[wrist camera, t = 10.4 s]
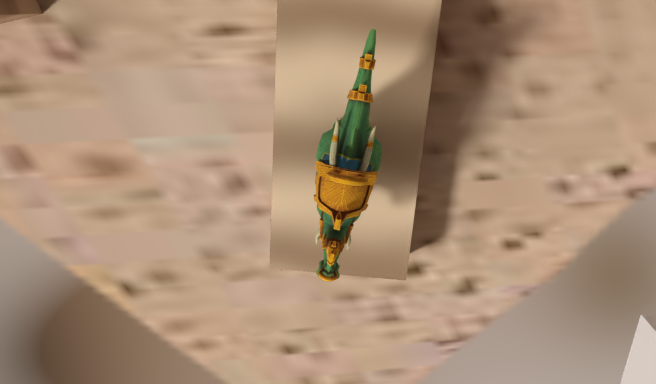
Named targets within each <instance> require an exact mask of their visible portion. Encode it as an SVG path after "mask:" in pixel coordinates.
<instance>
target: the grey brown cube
mask: <svg viewBox="0 0 656 384" xmlns="http://www.w3.org/2000/svg"><path fill="white" fill-rule="evenodd" d="M39 14H42V12H41V9H40V6H39V3H38V1H37V0H0V24H1V23H5V22H10V21H14V20H18V19H22V18H27V17H31V16H35V15H39Z"/></svg>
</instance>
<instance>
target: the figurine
mask: <svg viewBox="0 0 656 384" xmlns="http://www.w3.org/2000/svg"><path fill="white" fill-rule="evenodd" d="M375 45H376V30H375V29H371V30H370V32H369V35H368V38H367V41H366V44H365V47H364V51H363V55H362V57H360V60H359V71H358V74H357V78H356V80H355V83H354V86H353V88H352V90H350V91H349V94H348V96H347V98H348V99H349V100H348V103H347V107H346V111H345V114H344V116H343V118H342V120H341V119H340V120H338V118H337V119H336V122H335V123H334V124H333V128H332V129H331V130H329V131H327V132H325V133H323V134H322V137H321V139H320V142H319V145H318V149H317V154H316V159H317V161H316V170H317V172H316V178H315V184H316V195H314V201H315V202H316V203H317V210H318V213H319V215H320V217H321V218H320V219H319V223H320V228H319V229H318V231H317V233H316V237H315V240H316V244H317V242H318V240H319V238H320V239H321V241H322V249H323V253H324V260H322V261H320V262H319V268H318V270H317V271H316V274H317V275H318V276H319V277H320V278H321V279H323V280H325V281H334V280H336V279H337V278H339V276H340V275H339V271H338V270H339V267H340V265H339V264H338V263H337V260H338V258H339V255H340V253H341V252H342V251H343V249H344V246H345V244H346V243H347V250H348V248H349V246H350V243H351V234H350V233H351V230H352V228H353V226H354V225H353V223H354V222H355V221H356V220H357V219H358V218H359V217H360V215H361V212H362V211H364V210H366V209H367V207H368V204H367V202H368V200H369V197H370V194H371V192H372V189H373V185H374V183H375V180H376V179H377V175H378V172H377V171H378V170H379V168H380V163H381V157H382V144H381V143H380V142H379V141H378V140H377V138H376V137H375V136H374V135H375V129H376V125H375V126H374V128H373V129H372V127H371V126H370V125H369V114H370V103H373V94H372V93H371V78H372V70H374V67H375V63H376V60H375V59H374V55H375Z"/></svg>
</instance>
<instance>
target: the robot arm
mask: <svg viewBox="0 0 656 384" xmlns="http://www.w3.org/2000/svg"><path fill="white" fill-rule="evenodd" d="M621 384H656V316H654V315H641V316H640V320H639V323H638V326H637V330H636V333H635V336H634V340H633V343H632V347H631V350H630V353H629V356H628V360H627V363H626V367H625V370H624V373H623V377H622V380H621Z"/></svg>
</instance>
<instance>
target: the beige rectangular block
mask: <svg viewBox="0 0 656 384" xmlns="http://www.w3.org/2000/svg"><path fill="white" fill-rule="evenodd" d="M441 4H442V0H278V7H277V40H276V74H275V107H274V141H273V174H272V208H271V241H270V268H273V269H284V270H296V271H307V272H316V271H317V270H318V268H319V262H320V261H322V260H324V253H323V249H322V241H321V239H320V238H319V240H318V242H317V244H316V240H315V237H316V233H317V231H318V229H319V228H320V223H319V219H320V218H321V217H320V215H319V213H318V210H317V203H316V202H315V201H314V195H316V184H315V178H316V172H317V170H316V161H317V159H316V154H317V149H318V145H319V142H320V139H321V137H322V134H323V133H325V132H327V131H329V130H331V129H332V128H333V124H334V123H335V122H336V119H337V118H338V120H340V119H341V120H342V118H343V116H344V114H345V111H346V107H347V103H348V100H349V99H348V98H347V96H348V94H349V91H350V90H352V88H353V86H354V83H355V80H356V78H357V74H358V71H359V60H360V57H362V55H363V51H364V47H365V44H366V41H367V38H368V35H369V32H370V30H371V29H375V30H376V45H375V55H374V59H375V60H376V63H375V67H374V70H372V78H371V93H372V94H373V103H370V114H369V125H370V126H371V127H372V129H373V128H374V126H375V125H376V129H375V135H374V136H375V137H376V138H377V140H378V141H379V142H380V143H381V144H382V157H381V163H380V168H379V170H378V171H377V172H378V175H377V179H376V180H375V183H374V185H373V189H372V192H371V194H370V197H369V200H368V202H367V204H368V207H367V209H366V210H364V211H362V212H361V215H360V217H359V218H358V219H357V220H356V221H355V222H354V223H353V225H354V226H353V228H352V230H351V233H350V234H351V243H350V246H349V248H348V250H347V243H346V244H345V246H344V249H343V251H342V252H341V253H340V255H339V258H338V260H337V263H338V264H339V265H340V267H339V270H338V271H339V274H341V275H352V276H363V277H374V278H385V279H397V280H406V276H407V269H408V261H409V253H410V245H411V237H412V230H413V222H414V214H415V206H416V198H417V191H418V183H419V175H420V167H421V160H422V152H423V144H424V136H425V128H426V121H427V113H428V105H429V97H430V89H431V82H432V74H433V66H434V58H435V50H436V43H437V35H438V27H439V19H440V11H441Z"/></svg>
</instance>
